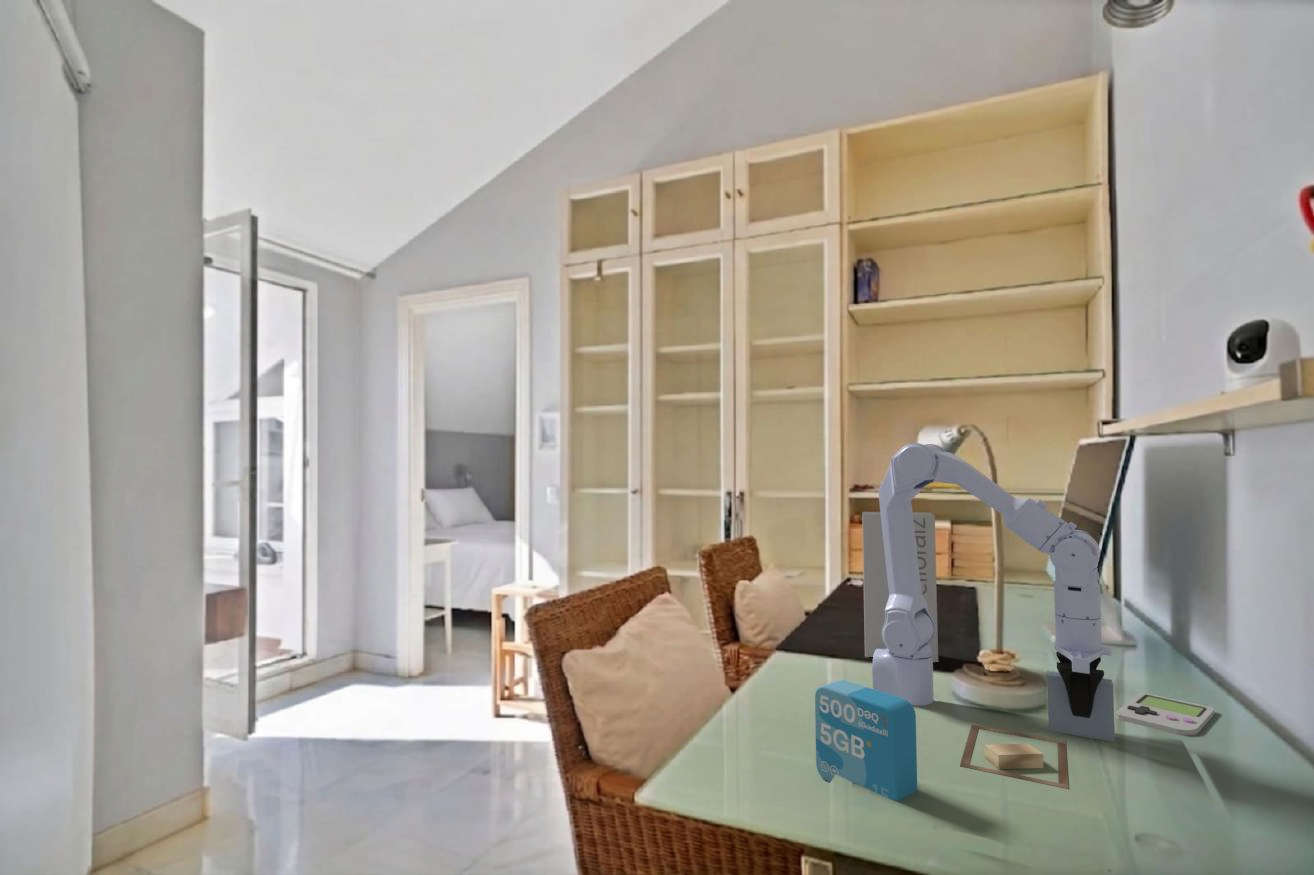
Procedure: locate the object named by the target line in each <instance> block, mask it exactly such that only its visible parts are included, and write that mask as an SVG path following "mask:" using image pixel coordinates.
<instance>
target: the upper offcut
mask: <svg viewBox="0 0 1314 875" xmlns="http://www.w3.org/2000/svg"><path fill="white" fill-rule="evenodd" d="M984 760H986V761H987V762H989V763H990V764H991V765H993V766H994V767H995V768H996V769H997V770H1021V769H1022V770H1024V769H1026V770H1027V769H1044V767H1045V766H1044V764H1045V763H1044V761H1045V760H1044V753H1043V752H1041V751H1040V750H1038V748H1035V747H1034V746H1032V745H1031V744H1029V743H1009V744H1008V743H1003V744H1001V743H999V744H984Z"/></svg>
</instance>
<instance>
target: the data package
mask: <svg viewBox="0 0 1314 875" xmlns="http://www.w3.org/2000/svg"><path fill="white" fill-rule="evenodd" d="M814 707H815V708H814V711H815V712H814V714H815V715H814V719H815V721H814V722H815V723H814V724H815V726H814V730H815V765H816V766H815V767H816V770H817V772H818V775H820V777H821V778H822V779H823V780H825V781H826V780H827V782H828V783H831V782H832V781H833V779H834V777H835V776H836V775H837V776H839V777H841V778H843V779H845V780H847V781H849V782H852V783H855V784H857V785H859V786H861V787H863V788H865V789H868V790H870V791H872V792H875V793H877V794H879V795H881V796H883V797H885V798H887V799H889V800H891V801H894V802H899V801H901V800H902V799H904V798H906V797H908V796H910V795H912V794H914V793H916V792H917V791H918V757H917V717H916V716H917V714H916V710H915V708H914V707H913V705H911V703H910V702H909V701H907V700H906V699H903V698H900V697H897V696H894V695H891V694H888V693H884V692H881V691H878V690H875V689H873V687H872V688H871V687H868V686H865V685H862V684H858V683H855V682H852V681H848V680H846V679H840V680H835V681H833V682H830V683H827V684H824V685H821V686H818V688H816V690H815V693H814Z"/></svg>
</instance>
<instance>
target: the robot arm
mask: <svg viewBox="0 0 1314 875" xmlns="http://www.w3.org/2000/svg"><path fill="white" fill-rule="evenodd" d="M934 482H935V483H943V484H950V485H951V484H952V485H956V486H959V487H960V488H961V489H962V490H965V491H966V492H968V493H969V494H971V495H972V496H974V497H975V498H977V499H978V500H980V501H981V502H983V503H984V504H986V505H987V506H989V507H990V508H992V509H994V511H996V512H998V513H1000V514H1001V516H1002V518H1003V521H1004V522H1003V523H1004V527H1005V528H1006V529H1008V530H1009V531H1011V533H1014V534H1015V535H1016V536H1017V537H1019V538H1020V539H1022V541H1025V543H1027V544H1029V545H1030V546H1032V548H1034V549H1035V550H1037V551H1039V553H1041V554H1047V555H1049V559H1050V560H1049V561H1050V562H1051V563H1052V565H1053V566H1054V576H1055V577H1054V578H1055V580H1054V582H1053V590H1054V591H1053V593H1054V594H1053V596H1054V598H1053V599H1054V600H1053V601H1054V630H1055V635H1054V636H1055V641H1054V642H1053V648H1054V650H1055V651H1056V652H1055V655H1056V657H1057V659H1058V662H1057V661H1056V669H1057V672H1058V673H1060V675H1061V677H1062V679H1063V681H1064V684H1065V686H1066V690H1067V694H1068V699H1069V704H1070V708H1071V711H1072V714H1073V716H1079V717H1085V718H1090V716H1091V713H1092V708H1093V703H1094V697H1095V693H1096V690H1097V687H1098V685H1099V683H1100V681H1101V680H1102V678H1103V679H1104V676H1105V670H1103V669H1097V668H1098V666H1099V664H1100V663H1101V661H1102V659H1101V658H1102V656H1113V650H1112V648H1111V647H1106V646H1103V642H1102V641H1103V638H1102V636H1103V635H1102V609H1101V607H1102V605H1101V603H1102V602H1101V585H1100V584H1099V580H1100V574H1099V571H1098V570H1099V568H1098V567H1097V566H1098V564H1099V560H1100V557H1101V549H1100V546H1099V544H1098V542H1097V540H1095V538H1094V537H1092V536H1091V535H1090V533H1089V532H1088V531H1084V530H1079V529H1076V528H1077V527H1078V526H1077V524H1075V523H1074V522H1073V521H1070V522H1069V523H1068V522H1067V521H1065V519H1063V518H1061V517H1059V516H1058V515H1057V514H1055V513H1053V512H1051V510H1049V509H1047V508H1046V507H1047V506H1048V504H1047V503H1046V502H1045V501H1043V500H1042V499H1038V500H1034V499H1033V498H1031V497H1023V498H1016V497H1015V496H1013V495H1012V494H1011V493H1009V492H1008V491H1007V490H1006V489H1004V488H1002V487H1001V486H1000V485H998V484H997V483H996V482H995V481H993V479H992V480H991V479H990V478H989V477H988V476H986V475H985V474H984V473H982V472H981V471H979V470H978V469H977V468H976V467H974V466H973V465H971V464H970V463H969V462H967V461H966V460H964V459H962V458H961V457H959V456H957V454H954V453H952V452H949V451H946V450H945V449H944V448H943V447H941V446H940V445H937V444H935V443H927V444H923V443H920V442H919V443H918V442H913V443H909V444H905V445H904V446H902V447H901V448H900V449H899V450H898V451H897V452H896V453H895V454H894V455H893V456H891V457H890V461H889V466H888V469H887V471H886V474H885V475H884V477H883V480H882V482H881V484H880V486H879V489H878V501H879V512H881V522H882V531H883V540H884V550H885V559H886V568H887V578H888V587H889V598H888V602H887V605H886V608H885V623H884V625H883V628H882V639H883V642H884V644H885V645H886V647H887V649H876V650H875V652H874V655H873V658H872V665H871V666H872V667H871V670H872V673H871V674H872V689H875V690H878V691H881V692H884V693H888V694H891V695H894V696H897V697H900V698H903V699H906V700H907V701H909V702H910V703H911V705H912V706H915V707H917V706H918V707H922V706H928V705H932V704H933V703H934V702H940V700H939V699H937V698H935V696H934V664H933V663H934V662H933V655H932V654H933V652H932V649H931V648H930V645H929V642H930V641H931V640H932V639H933V637H934V635H935V632H936V627H935V622H934V620H933V618H932V617H931V615H930V613H929V611H928V607H927V601H926V600H925V598H924V596H923V594H922V592H921V583H920V574H919V565H918V556H917V548H916V539H915V530H914V521H913V513H914V512H913V505H912V504H913V503H912V501H913V500H914V498H915V497H916V496H917V495H918V494H919V493H920V492H921V491H922V490H923V489H924V488H925V487H927V486H928V485H931V484H932V483H934Z"/></svg>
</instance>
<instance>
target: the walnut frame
mask: <svg viewBox="0 0 1314 875" xmlns="http://www.w3.org/2000/svg"><path fill="white" fill-rule="evenodd" d="M979 730H983V731H989V732H995V733H1001V734H1006V735H1012V736H1017V737H1021V738H1027V739H1034V740H1039V741H1044V742H1049V743H1054V744H1055V743H1056V744H1057V771H1058V772H1057V774H1058V775H1057V776H1058V782H1056V781H1055V782H1054V781H1052V780H1046V779H1042V778H1036V777H1031V776H1027V775H1022V774H1016V773H1012V772H1007V771H1002V770H999V769H993V768H988V767H983V766H978V765H973V764H970V763H971V758H972V755H973V751H974V747H975V743H976V739H977V736H978V732H979ZM1067 758H1068V757H1067V741H1066V740H1060V739H1055V738H1049V737H1043V736H1037V735H1032V734H1027V733H1022V732H1017V731H1009V730H1004V729H999V728H998V729H997V728H993V727H986V726H981V725H976V724H971V726H970V729H969V733H968V736H967V740H966V744H965V746H964V749H963V752H962V757H961V760H960V764H959V767H962V768H965V769H969V770H975V771H980V772H985V773H990V774H994V775H999V776H1004V777H1008V778H1014V779H1017V780H1018V779H1019V780H1024V781H1027V782H1033V783H1038V784H1042V785H1046V786H1051V787H1057V788H1059V789H1066V790H1069V773H1068V772H1069V771H1068V759H1067Z"/></svg>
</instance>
